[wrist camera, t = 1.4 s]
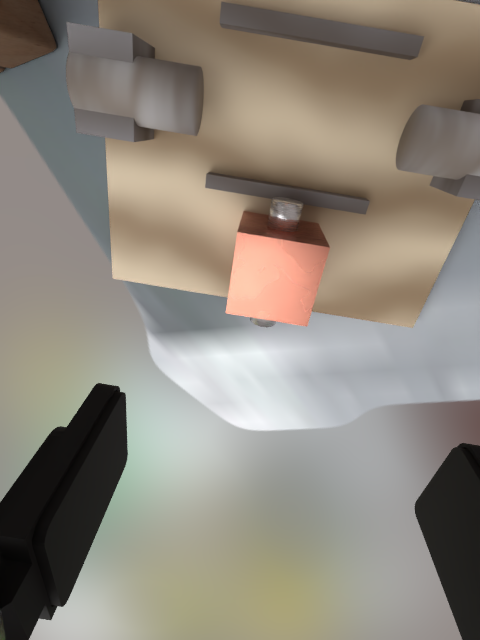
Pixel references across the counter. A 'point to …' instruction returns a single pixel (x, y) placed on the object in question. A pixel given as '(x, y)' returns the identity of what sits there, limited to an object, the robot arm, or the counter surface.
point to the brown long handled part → (23, 33)
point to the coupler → (277, 265)
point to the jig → (285, 136)
